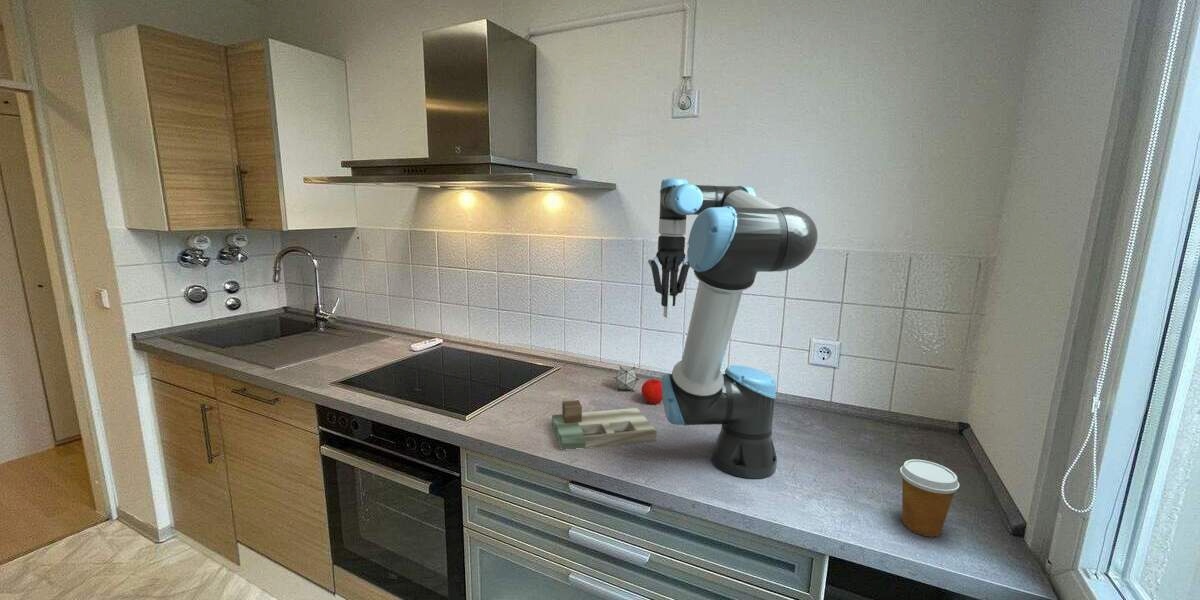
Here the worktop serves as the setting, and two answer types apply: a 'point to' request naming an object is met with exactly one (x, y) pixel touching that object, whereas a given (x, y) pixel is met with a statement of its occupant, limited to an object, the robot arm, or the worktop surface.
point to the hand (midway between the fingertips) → (667, 317)
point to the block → (571, 411)
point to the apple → (652, 391)
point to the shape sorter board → (604, 429)
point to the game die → (626, 378)
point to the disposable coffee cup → (926, 496)
